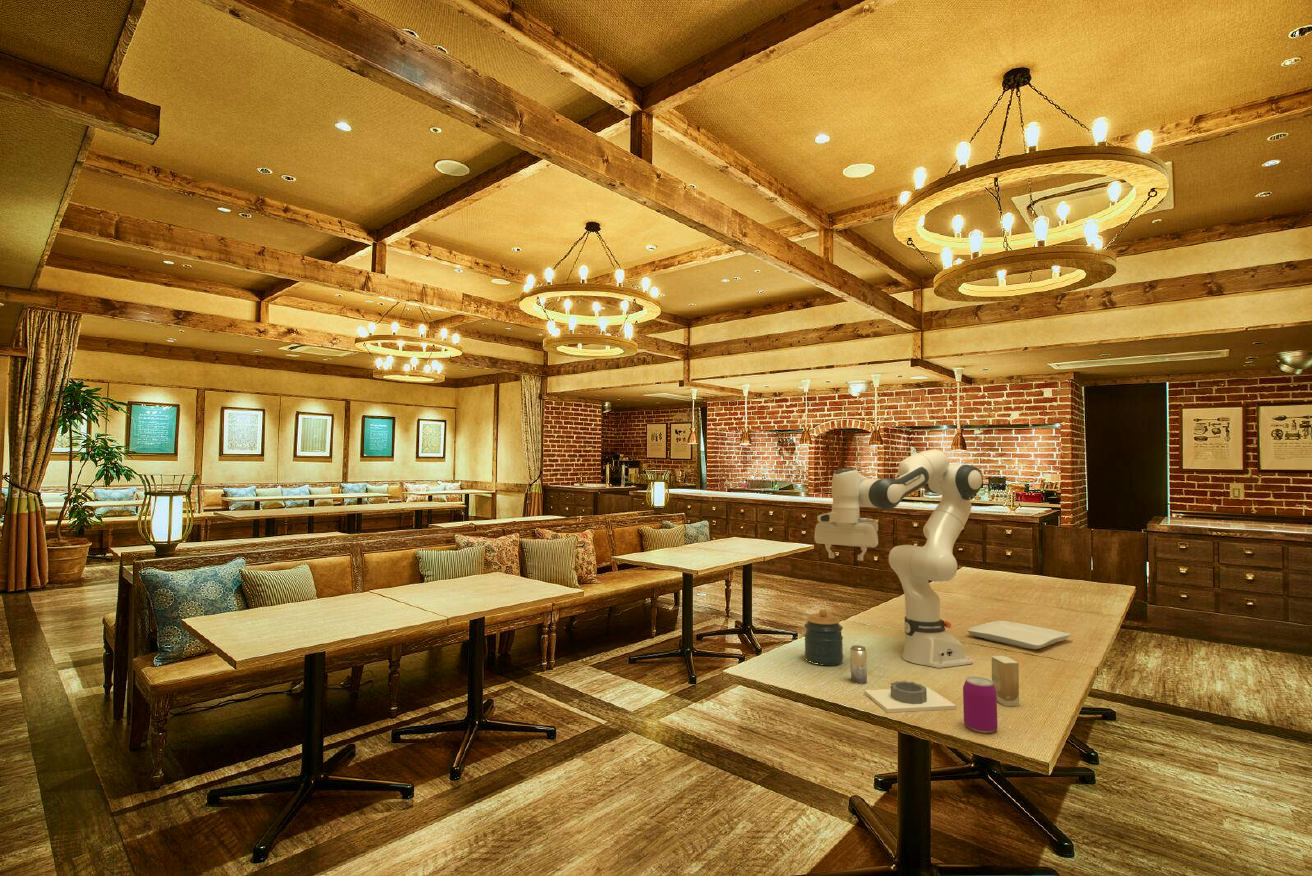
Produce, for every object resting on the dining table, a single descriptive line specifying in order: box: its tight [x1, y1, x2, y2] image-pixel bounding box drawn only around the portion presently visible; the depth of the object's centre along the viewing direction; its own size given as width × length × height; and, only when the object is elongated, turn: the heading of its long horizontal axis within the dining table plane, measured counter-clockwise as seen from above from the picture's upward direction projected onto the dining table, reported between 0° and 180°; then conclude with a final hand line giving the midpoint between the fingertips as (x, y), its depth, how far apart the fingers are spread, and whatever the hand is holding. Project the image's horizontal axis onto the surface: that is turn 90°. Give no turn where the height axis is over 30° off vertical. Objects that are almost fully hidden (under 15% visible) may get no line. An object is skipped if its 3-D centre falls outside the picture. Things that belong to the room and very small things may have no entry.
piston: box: [849, 644, 868, 685], centre depth 190 cm, size 5×5×11 cm
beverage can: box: [962, 675, 998, 734], centre depth 157 cm, size 8×8×12 cm
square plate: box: [966, 620, 1072, 650], centre depth 236 cm, size 27×27×4 cm
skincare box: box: [991, 655, 1020, 707], centre depth 174 cm, size 6×4×12 cm
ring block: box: [863, 680, 957, 714], centre depth 174 cm, size 20×14×4 cm
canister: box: [803, 608, 844, 666], centre depth 211 cm, size 13×13×18 cm
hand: (845, 559), depth 201 cm, fingers open, 8 cm apart
